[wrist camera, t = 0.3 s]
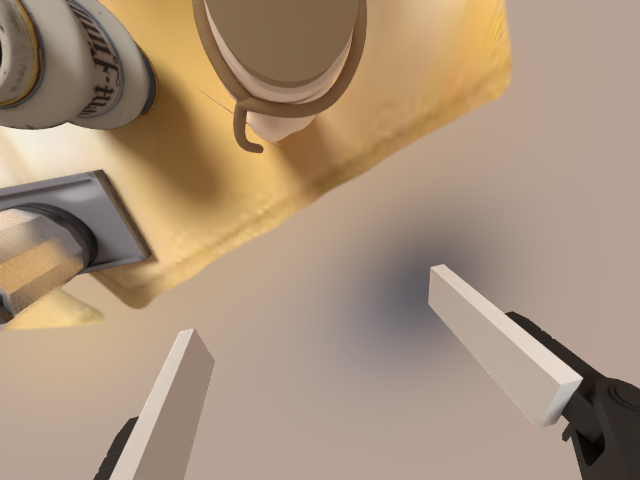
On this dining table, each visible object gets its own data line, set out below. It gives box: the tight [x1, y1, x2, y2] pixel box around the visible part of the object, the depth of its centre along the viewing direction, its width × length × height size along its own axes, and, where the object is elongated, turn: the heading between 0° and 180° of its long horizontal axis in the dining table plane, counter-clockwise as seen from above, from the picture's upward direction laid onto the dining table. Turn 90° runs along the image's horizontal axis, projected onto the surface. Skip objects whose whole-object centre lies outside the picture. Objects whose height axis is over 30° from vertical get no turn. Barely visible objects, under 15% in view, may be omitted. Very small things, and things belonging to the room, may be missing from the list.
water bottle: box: [192, 0, 367, 153], centre depth 20 cm, size 10×9×28 cm
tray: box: [0, 170, 151, 275], centre depth 33 cm, size 14×24×2 cm, turn 99°
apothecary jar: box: [0, 0, 158, 130], centre depth 20 cm, size 12×12×18 cm
